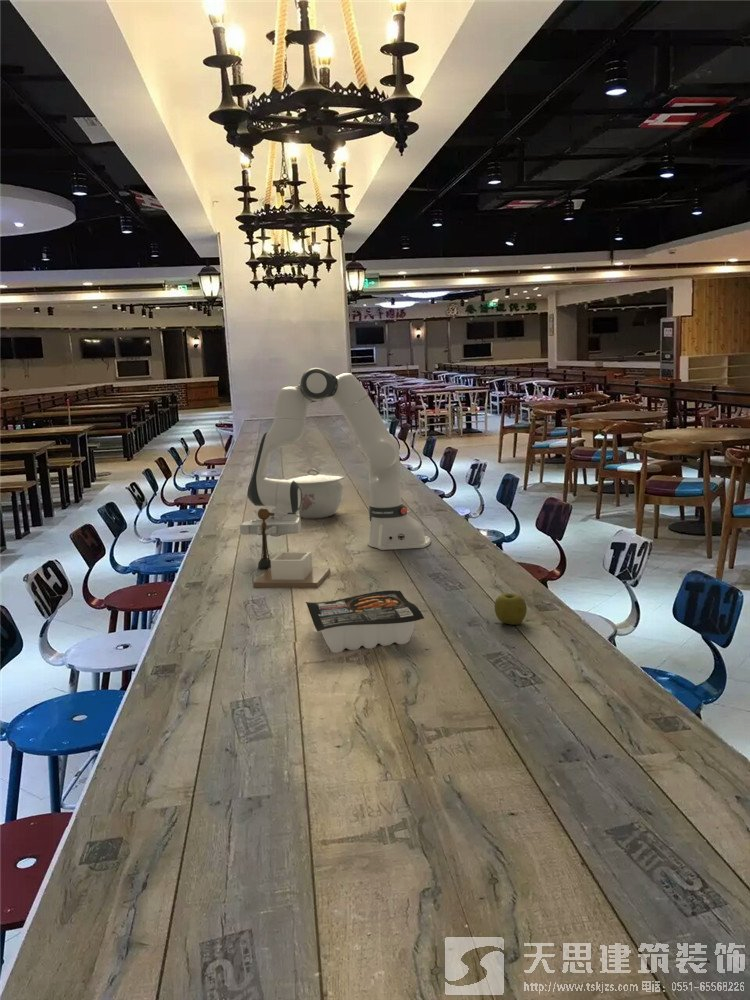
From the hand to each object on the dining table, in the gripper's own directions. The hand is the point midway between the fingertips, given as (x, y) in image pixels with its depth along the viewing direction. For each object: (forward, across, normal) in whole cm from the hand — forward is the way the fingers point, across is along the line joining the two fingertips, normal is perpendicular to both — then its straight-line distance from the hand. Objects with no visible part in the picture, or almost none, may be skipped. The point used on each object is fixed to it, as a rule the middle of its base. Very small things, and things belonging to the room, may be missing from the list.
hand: (263, 532), depth 252 cm
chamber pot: (-83, -5, +13) cm, 84 cm away
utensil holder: (+12, +13, +12) cm, 21 cm away
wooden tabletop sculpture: (-1, 0, +12) cm, 12 cm away
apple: (+48, +80, +13) cm, 94 cm away
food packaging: (+58, +44, +13) cm, 74 cm away
